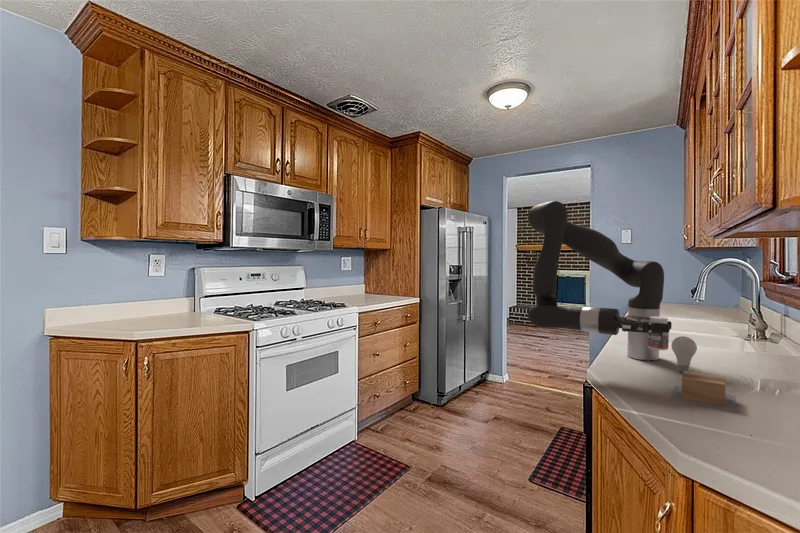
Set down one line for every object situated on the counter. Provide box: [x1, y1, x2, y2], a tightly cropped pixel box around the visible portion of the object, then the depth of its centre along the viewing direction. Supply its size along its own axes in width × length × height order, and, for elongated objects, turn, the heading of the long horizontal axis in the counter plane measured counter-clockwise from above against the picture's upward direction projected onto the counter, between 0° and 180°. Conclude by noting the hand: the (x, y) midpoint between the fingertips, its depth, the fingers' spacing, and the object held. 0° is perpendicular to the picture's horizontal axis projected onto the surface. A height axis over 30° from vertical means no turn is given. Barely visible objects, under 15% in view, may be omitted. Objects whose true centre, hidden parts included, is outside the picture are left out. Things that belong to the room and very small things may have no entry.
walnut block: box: [681, 370, 726, 407], centre depth 94 cm, size 8×8×5 cm
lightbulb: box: [671, 335, 698, 374], centre depth 116 cm, size 6×6×11 cm
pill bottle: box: [647, 316, 670, 351], centre depth 105 cm, size 5×5×8 cm
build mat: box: [670, 385, 738, 414], centre depth 94 cm, size 14×12×1 cm
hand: (670, 327), depth 103 cm, fingers closed on pill bottle, 4 cm apart
